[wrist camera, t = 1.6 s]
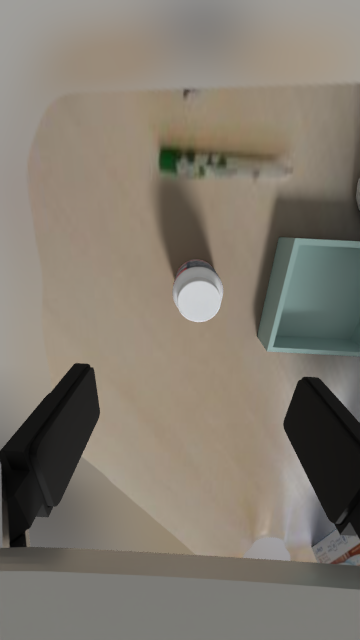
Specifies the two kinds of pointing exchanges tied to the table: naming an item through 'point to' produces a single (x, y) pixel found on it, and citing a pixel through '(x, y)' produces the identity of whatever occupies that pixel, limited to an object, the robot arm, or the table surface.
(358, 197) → the supplement can
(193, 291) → the pill bottle
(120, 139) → the table surface
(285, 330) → the bin
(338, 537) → the box
